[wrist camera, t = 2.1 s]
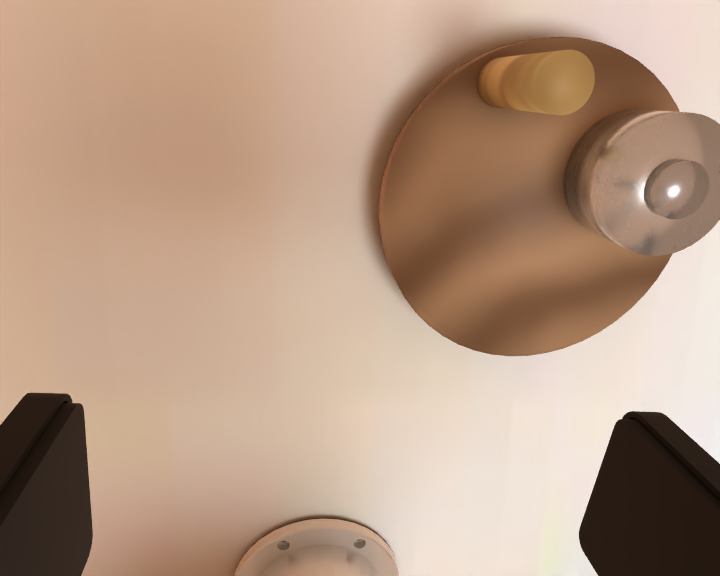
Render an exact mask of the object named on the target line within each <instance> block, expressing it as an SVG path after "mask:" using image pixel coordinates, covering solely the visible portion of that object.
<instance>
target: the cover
mask: <svg viewBox="0 0 720 576" xmlns="http://www.w3.org/2000/svg"><path fill="white" fill-rule="evenodd" d="M564 196H565V200H566V203H567V206H568V209H569V210H570V212H571V214H572V216H573V217H574V218H575V220H576V221H577V222H578V223H579V224H580V225H582V226H583V227H584V228H586V229H587V230H589V231H592V232H594V233H596V234H598V235H600V236H602V237H604V238H606V239H608V240H610V241H612V242H614V243H616V244H618V245H620V246H622V247H624V248H626V249H628V250H630V251H632V252H635V253H638V254H641V255H647V256H661V255H668V254H672V253H675V252H678V251H680V250H683V249H685V248H687V247H689V246H691V245H692V244H694V243H695V242H697V241H698V240H700V239H701V238H702V237H703V236H705V235H706V234H707V233H708V232H709V231H710V230H711V229H712V228H713V227H714V226H715V225H716V223H717V222H718V221H719V220H720V124H718V123H717V122H716V121H714V120H712V119H711V118H709V117H706V116H704V115H700V114H695V113H686V112H673V111H660V110H647V109H626V110H622V111H618V112H615V113H612V114H610V115H608V116H606V117H604V118H602V119H601V120H599V121H598V122H596V123H595V124H594V125H592V126H591V127H590V128H589V129H588V130H587V131H586V132H585V133H584V134H583V136H582V137H581V138H580V139H579V141H578V142H577V144H576V145H575V147H574V149H573V150H572V152H571V154H570V157H569V159H568V162H567V165H566V169H565V174H564Z"/></svg>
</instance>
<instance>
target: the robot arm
mask: <svg viewBox="0 0 720 576" xmlns="http://www.w3.org/2000/svg"><path fill="white" fill-rule="evenodd" d="M92 536H93V531H92V517H91V503H90V490H89V476H88V462H87V448H86V434H85V420H84V410H83V406H82V404H80V403H72V399H71V397H70V395H68V394H56V393H27V394H26V395H25V396H24V397H23V398H22V399H21V400H20V402H19V403H18V404H17V405H16V407H15V408H14V409H13V410H12V412H11V413H10V414H9V415H8V417H7V418H6V419H5V420H4V421H3V423H2V424H1V425H0V576H81V574H82V572H83V569H84V567H85V564H86V562H87V559H88V557H89V554H90V550H91V545H92ZM579 540H580V544H581V548H582V550H583V552H584V553H585V555H586V557H587V558H588V560H589V561H590V563H591V565H592V566H593V568H594V569H595V571H596V573H597V574H598V576H720V464H719V463H718V462H717V461H716V460H715V459H714V458H713V457H711V456H710V455H709V454H708V453H707V452H706V451H705V450H704V449H703V448H701V447H700V446H699V445H698V444H697V443H696V442H695V441H694V440H693V439H692V438H690V437H689V436H688V435H687V434H686V433H685V432H684V431H683V430H682V429H680V428H679V427H678V426H677V425H676V424H675V423H674V422H673V421H672V420H670V419H669V418H668V417H667V416H666V415H664V414H663V413H658V412H634V411H631V412H628V413H626V414H625V415H624V416H623V418H622V419H621V420H618V421H617V422H616V424H615V426H614V429H613V432H612V435H611V438H610V441H609V444H608V447H607V450H606V453H605V456H604V458H603V461H602V464H601V467H600V470H599V473H598V476H597V479H596V482H595V485H594V488H593V491H592V494H591V497H590V500H589V503H588V506H587V509H586V512H585V514H584V517H583V520H582V523H581V526H580V530H579ZM234 576H399V574H398V568H397V564H396V561H395V557H394V555H393V553H392V551H391V550H390V548H389V546H388V545H387V544H386V543H385V542H384V541H383V540H382V538H381V537H380V536H378V535H377V534H375V533H374V532H372V531H371V530H369V529H368V528H365V527H363V526H361V525H358V524H356V523H353V522H348V521H344V520H339V519H312V520H304V521H300V522H296V523H292V524H289V525H286V526H284V527H281V528H279V529H276V530H274V531H273V532H271V533H269V534H268V535H266V536H264V537H263V538H261V539H260V540H259V541H258V542H256V543H255V544H254V545H253V546H252V547H251V548H250V549H249V550H248V551H247V552H246V554H245V555H244V556H243V558H242V559H241V560H240V563H239V565H238V567H237V569H236V571H235V575H234Z"/></svg>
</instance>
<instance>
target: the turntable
mask: <svg viewBox="0 0 720 576" xmlns="http://www.w3.org/2000/svg"><path fill="white" fill-rule="evenodd" d="M626 109H647V110H660V111H673V112H679V109H678V107H677V105H676V103H675V102H674V100H673V98H672V97H671V95H670V94H669V92H668V90H667V89H666V88H665V86H664V85H663V84H662V83H661V82H660V81H659V79H658V78H657V77H656V76H655V75H654V74H653V73H652V72H651V71H650V70H649V69H647V68H646V67H645V66H644V65H643V64H641V63H640V62H639V61H638V60H636V59H634V58H633V57H631V56H629V55H628V54H626V53H624V52H622V51H621V50H619V49H616V48H613V47H611V46H608V45H606V44H603V43H600V42H596V41H591V40H586V39H581V38H568V37H552V38H542V39H533V40H527V41H522V42H518V43H514V44H510V45H506V46H502V47H499V48H497V49H494V50H492V51H489V52H487V53H484V54H482V55H480V56H478V57H476V58H474V59H473V60H471V61H469V62H467V63H466V64H464V65H462V66H460V67H459V68H458V69H456V70H455V71H454V72H452V73H451V74H450V75H448V76H447V77H446V78H444V79H443V80H442V81H441V82H440V83H439V84H438V85H437V86H436V87H435V88H434V89H433V90H432V91H431V92H429V93H428V94H427V95H426V96H425V98H424V99H423V100H422V101H421V103H420V104H419V105H418V106H417V108H416V109H415V110H414V111H413V113H412V114H411V115H410V117H409V119H408V120H407V122H406V124H405V125H404V127H403V128H402V130H401V132H400V133H399V135H398V138H397V140H396V142H395V144H394V146H393V149H392V151H391V153H390V156H389V159H388V162H387V165H386V168H385V172H384V175H383V180H382V186H381V191H380V200H379V226H380V237H381V241H382V246H383V250H384V255H385V258H386V260H387V263H388V266H389V268H390V271H391V273H392V275H393V277H394V279H395V281H396V283H397V284H398V286H399V288H400V290H401V292H402V294H403V295H404V297H405V299H406V300H407V301H408V303H409V304H410V305H411V307H412V308H413V309H414V311H415V312H416V313H417V314H418V315H419V316H420V317H421V318H422V319H423V320H424V321H425V322H426V323H427V324H428V325H429V326H430V327H432V328H433V329H434V330H436V331H437V332H438V333H440V334H441V335H442V336H444V337H446V338H448V339H450V340H452V341H453V342H455V343H457V344H459V345H462V346H464V347H467V348H470V349H472V350H475V351H480V352H484V353H488V354H493V355H504V356H529V355H535V354H542V353H548V352H551V351H555V350H559V349H563V348H566V347H568V346H571V345H573V344H576V343H578V342H581V341H583V340H585V339H587V338H589V337H591V336H593V335H595V334H596V333H598V332H600V331H602V330H603V329H605V328H606V327H608V326H609V325H611V324H612V323H614V322H615V321H616V320H618V319H619V318H620V317H621V316H622V315H624V314H625V313H626V312H627V311H628V310H630V309H631V308H632V307H633V306H634V305H635V304H636V303H637V302H638V301H639V300H640V299H641V298H642V297H643V296H644V295H645V293H646V292H647V291H648V290H649V288H650V287H651V286H652V285H653V283H654V282H655V281H656V280H657V278H658V277H659V275H660V274H661V272H662V271H663V269H664V268H665V266H666V264H667V263H668V261H669V259H670V257H671V255H672V254H668V255H661V256H647V255H641V254H638V253H635V252H632V251H630V250H628V249H626V248H624V247H622V246H620V245H618V244H616V243H614V242H612V241H610V240H608V239H606V238H604V237H602V236H600V235H598V234H596V233H594V232H592V231H589V230H587V229H586V228H584V227H583V226H582V225H580V224H579V223H578V222H577V221H576V220H575V218H574V217H573V216H572V214H571V212H570V210H569V209H568V206H567V203H566V200H565V196H564V174H565V169H566V165H567V162H568V159H569V157H570V154H571V152H572V150H573V149H574V147H575V145H576V144H577V142H578V141H579V139H580V138H581V137H582V136H583V134H584V133H585V132H586V131H587V130H588V129H589V128H590V127H591V126H592V125H594V124H595V123H596V122H598V121H599V120H601V119H602V118H604V117H606V116H608V115H610V114H612V113H615V112H618V111H622V110H626Z"/></svg>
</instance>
